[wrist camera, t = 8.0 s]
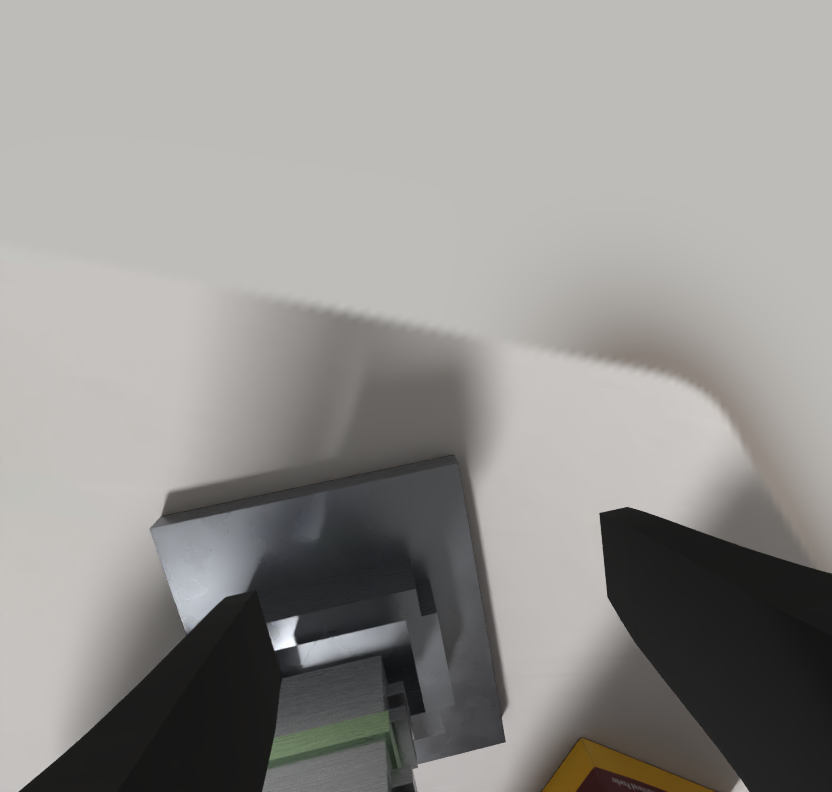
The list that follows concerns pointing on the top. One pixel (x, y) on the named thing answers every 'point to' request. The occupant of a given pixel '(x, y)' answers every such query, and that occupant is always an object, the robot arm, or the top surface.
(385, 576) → the stand base
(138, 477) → the top surface
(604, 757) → the supplement box
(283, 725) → the gray slotted block
